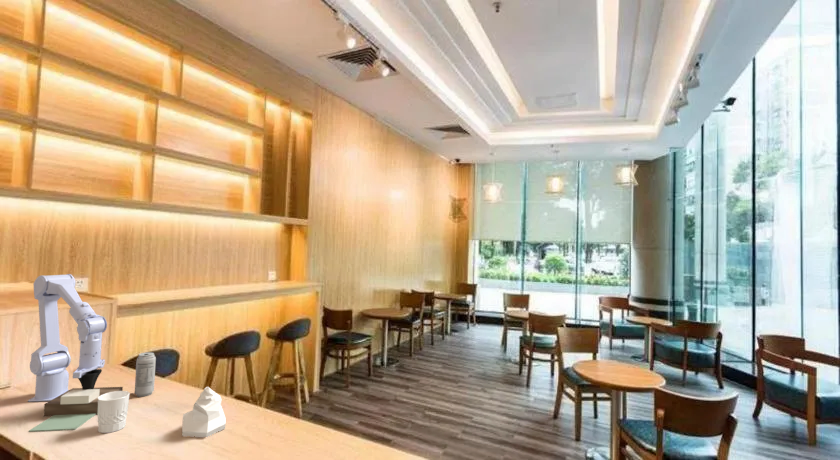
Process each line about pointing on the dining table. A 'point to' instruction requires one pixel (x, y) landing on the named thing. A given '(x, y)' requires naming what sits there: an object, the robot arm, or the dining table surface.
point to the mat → (62, 422)
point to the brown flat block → (66, 409)
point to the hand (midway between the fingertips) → (88, 392)
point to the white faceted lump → (204, 416)
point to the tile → (80, 396)
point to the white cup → (112, 411)
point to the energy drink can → (145, 374)
